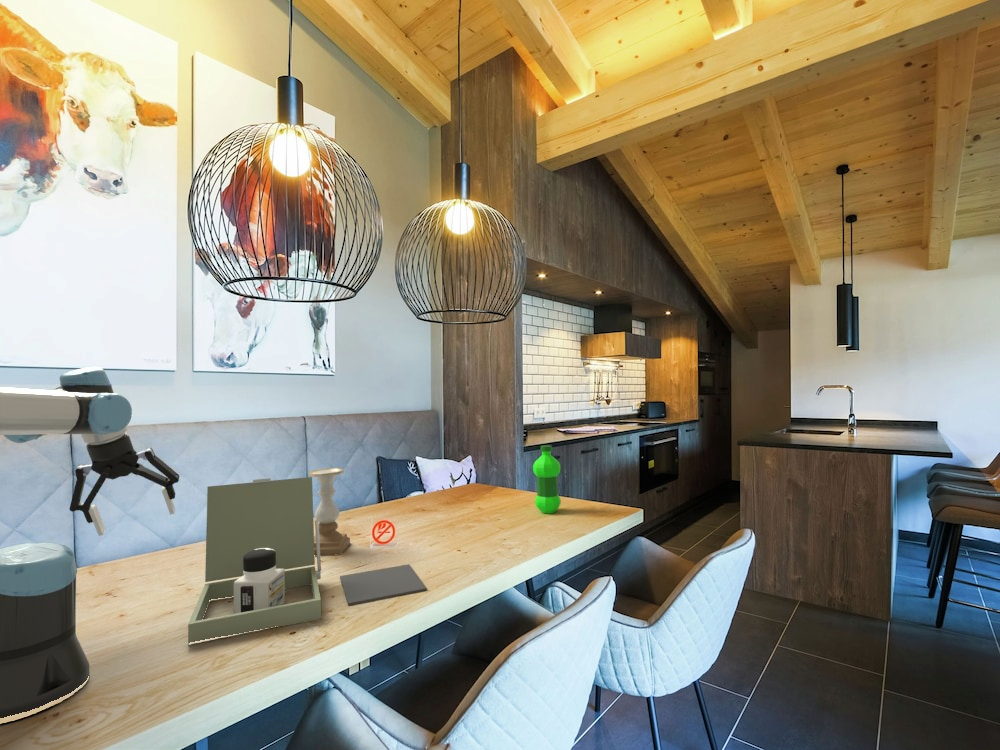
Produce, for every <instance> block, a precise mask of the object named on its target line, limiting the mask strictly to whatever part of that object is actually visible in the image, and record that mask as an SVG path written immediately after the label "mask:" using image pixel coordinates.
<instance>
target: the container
mask: <svg viewBox="0 0 1000 750" xmlns="http://www.w3.org/2000/svg"><path fill="white" fill-rule="evenodd" d="M284 571H285V570H284V569H276V552H275V550H273V549H270V548H259V549H254V550H251V551H249V552H248V553H246V554H245V555H244V556H243V574H244V575H243V576H241V577H238V578H236V579H237V580H236V581H235V582H234V598H233V614H236V613H241V612H247V611H252V610H258V609H263V608H268V607H274V606H279V605H281V604H282V603H283V604H285V602H286V595H285V594H286V591H285V590H286V589H285V577H284ZM283 604H282V605H283Z"/></svg>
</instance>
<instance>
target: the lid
mask: <svg viewBox="0 0 1000 750" xmlns="http://www.w3.org/2000/svg"><path fill="white" fill-rule="evenodd" d="M206 488H207V490H206V491H207V492H206V497H207V498H206V500H207V501H206V529H205V530H206V532H205V533H206V536H205V569H204V570H205V571H204V572H205V573H204V574H205V575H204V577H205V578H204V582H205V583H208V582H210V583H211V582H215V581H216V582H217V581H223V580H226V579H227V580H229V579H236V578H240V577H242V576H243V575H244V574H243V556H244V555H245V554H246V553H248V552H249V551H251V550H254V549H259V548H270V549H273V550H275V552H276V569H284V571H286V570H292V569H298V568H305V567H311V566H313V565H314V566H315V564H316V563H315V559H316V557H315V556H314V536H315V533H314V530H315V529H314V527H315V525H314V524H315V523H314V498H313V496H314V495H313V494H314V493H313V491H314V490H313V477H311V476H309V477H308V476H307V477H298V478H297V477H296V478H286V479H275V480H274V479H273V480H271V478H269V477H268V478H260V479H252V482H244V483H232V484H231V483H230V484H222V485H209V486H207V487H206Z"/></svg>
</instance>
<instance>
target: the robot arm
mask: <svg viewBox="0 0 1000 750" xmlns="http://www.w3.org/2000/svg"><path fill="white" fill-rule="evenodd" d="M59 381H60V383H59V384H60V386H59V387H56V388H54V389H51V390H48V389H33V388H31V389H30V388H18V387H1V386H0V436H3V437H4V438H6V439H8V441H10V442H13V443H16V444H24V443H27V442H30V441H33V440H35V441H36V440H38V439H39V438H41V437H43V436H47V435H80V436H81V438H82V441H83V442H84V443H85V444H86V445H85V447H86V451H87V453H88V455H89V458H90V461H91V464H86V465H85V464H83V463H81V464H78V466H77V467H76V469H75V470H74V473H75V477H76V481H75V485H74V489H73V493H72V497H71V501H70V505H69V509H68V510H69V511H70V512H75V511H81V512H82V513H83V515H84V518H85V520H86V522H87V523H88V524H91V523H93V525H94V528H95V530H96V533H97V536H98V537H100V536H103V535H104V533H105V531H106V526H105V524H104V521H103V518H102V517H101V515H100V512H99V510H98V509H99V508H98V507H97V504H92V503H93V501H94V500H95V498H96V496H97V495H98V494H99V491H100V489H101V488H102V487H103V484H104V483H105V481H106V479H108V480H111V481H112V480H116V479H118V478H121V477H129V476H130V474H133V475H136V476H140V477H142V478H144V479H146V480H147V481H148V480H149V481H150V482H153V483H155V484H157V485H160V486H161V492H162V495H163V498H164V501H165V504H166V507H167V510H168V512H169V515H173V514H174V515H175V510H176V507H175V504H174V502H173V501H174V499H175V498H176V491H175V488H174V484H176V483H178V482H179V481H180V474H178V473H177V471H175V470H174V469H173V468H172V467H170V466H169V465H168V464H167V463H166V462H165V461H163V460H162V459H161V458H159V457H158V456H157V455H156V453H155V452H154V449H153V448H152V447H147V448H145V449H144V450H142V451H139V452H137V451H136V450H135V449H134V446H133V444H132V441H131V438H130V435H129V433H127V426H128V425H129V423H130V422H131V421H132V414H133V413H132V412H133V409H132V405H131V403H130V401H129V399H127V398H126V397H125V396H123V395H122V394H119V393H114V390H113V387H112V383H111V381H110V379H109V377H108V375H107V373H106V371H105V369H103V368H102V367H99V366H90V367H89V366H88V367H82V368H78V369H74V370H70V371H66V372H65V373H62V374H60V375H59ZM139 459H143V461H147V462H148V463H149V464H150V465H152V466H153V467H154V468H155V469H156V470H157V471H159V472H160V473H161V474H160V473H158V472H156V471H154V470H152V469H150V468H148V467H146V466H145V465H143V464H141V463H139V462H138V461H139ZM91 471H93V472H94V473H96V474H98V475H99V476H98V479H97V480H96V482H95V484H94V485H93V486H92V488H91V490H90V491H89V493H88V495H87V497H86V499H85V500H84V501H81V499H82V497H83V493H84V492H83V491H84V487H85V483H86V480H87V476H89V474H90V472H91ZM162 474H163V475H162ZM77 573H78V567H77V565H76V559H75V553H74V551H73V550H72V548H70V547H69V546H67V545H64V544H60V543H56V542H39V543H33V542H32V543H21V544H14V545H10V546H6V547H2V548H0V718H4V717H7V716H10V715H11V716H12V715H15V714H19V713H22V712H27V711H30V710H32V709H35V708H39V707H40V706H43V705H45V704H47V703H49V702H51V701H54V700H57V699H59V698H60V697H63V696H65V695H67V694H69V693H71V692H72V691H74V690H75V689H76V688H78V687H79V686H80V685H82V684H83V683H84V682H85V681H86V680H87V678H88V676H89V677H90V663H89V662H90V661H89V660H88V658H87V656H86V654H85V651H84V649H83V647H82V646H81V643H80V641H79V639H78V637H77V633H76V632H77V631H76V629H77V628H76V627H77V626H76V625H77V624H76V622H77V621H76V618H77V617H76V616H77V613H76V608H77V599H76V598H77Z"/></svg>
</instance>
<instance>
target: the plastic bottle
mask: <svg viewBox="0 0 1000 750" xmlns="http://www.w3.org/2000/svg"><path fill="white" fill-rule="evenodd" d="M552 451H553V446H552V445H551V444H550V445H548V444H547V445H546V444H545V445H540V452H541V456H540V457H539V458H537V459H536V460H535V461H534V463H533V465H532V470H533V474H534V475H535V476H536V489H537V490H536V496H535V499H534V505H535V507H536V508H537V509H538V511H540V513H542V514H546V513H548V514H554V513H555V512H556V511H557V510H558V509H559V508H560V506H561V503H562V501H561V497H560V496H559V484H558V481H559V480H558V476H559V474H560V473H561V463H560V461H558V460H557V458H555V457H554V456H553V455H551V453H552Z"/></svg>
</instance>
